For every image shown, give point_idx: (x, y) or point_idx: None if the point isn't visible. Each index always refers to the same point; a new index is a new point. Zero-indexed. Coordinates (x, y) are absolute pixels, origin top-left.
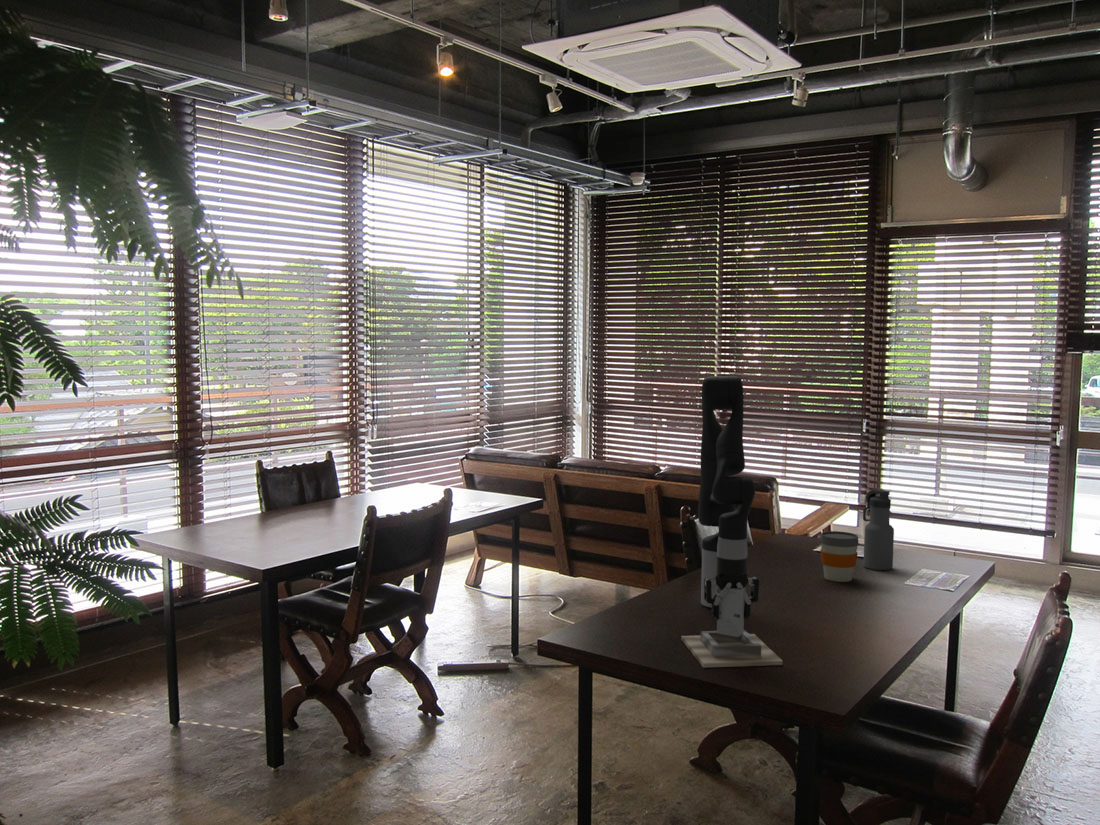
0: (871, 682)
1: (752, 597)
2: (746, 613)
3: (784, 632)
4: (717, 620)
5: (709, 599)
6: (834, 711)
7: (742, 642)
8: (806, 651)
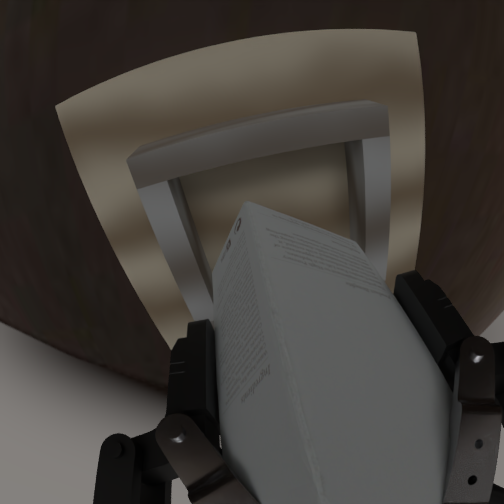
0: (488, 324)
1: (495, 392)
2: None
3: (496, 11)
4: (215, 326)
5: (156, 483)
6: None
7: (345, 146)
8: (499, 183)
